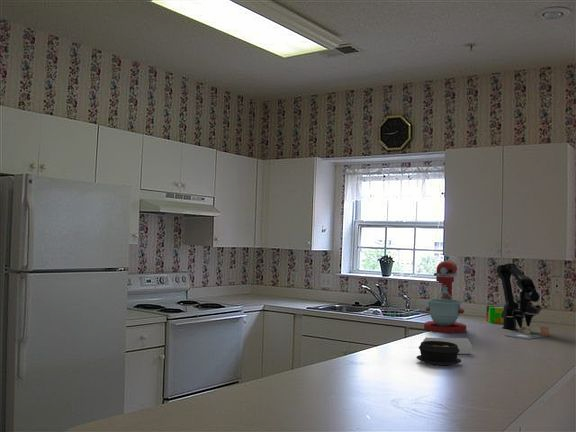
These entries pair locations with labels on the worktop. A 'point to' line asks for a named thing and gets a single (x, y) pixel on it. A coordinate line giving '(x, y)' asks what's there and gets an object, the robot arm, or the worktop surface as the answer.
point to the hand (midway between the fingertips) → (524, 327)
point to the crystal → (462, 343)
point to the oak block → (524, 329)
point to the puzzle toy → (494, 314)
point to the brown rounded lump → (544, 331)
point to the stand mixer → (445, 303)
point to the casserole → (439, 353)
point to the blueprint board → (523, 336)
